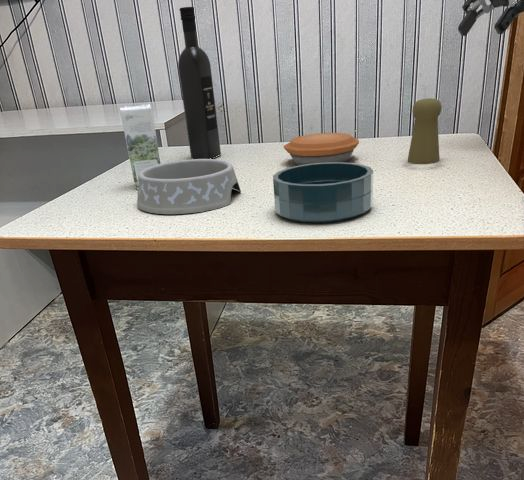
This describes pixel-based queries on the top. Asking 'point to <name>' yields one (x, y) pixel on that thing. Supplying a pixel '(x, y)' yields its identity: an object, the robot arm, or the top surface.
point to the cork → (425, 132)
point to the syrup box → (140, 138)
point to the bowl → (323, 191)
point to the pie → (321, 148)
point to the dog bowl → (186, 186)
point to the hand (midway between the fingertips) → (479, 31)
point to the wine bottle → (197, 93)
